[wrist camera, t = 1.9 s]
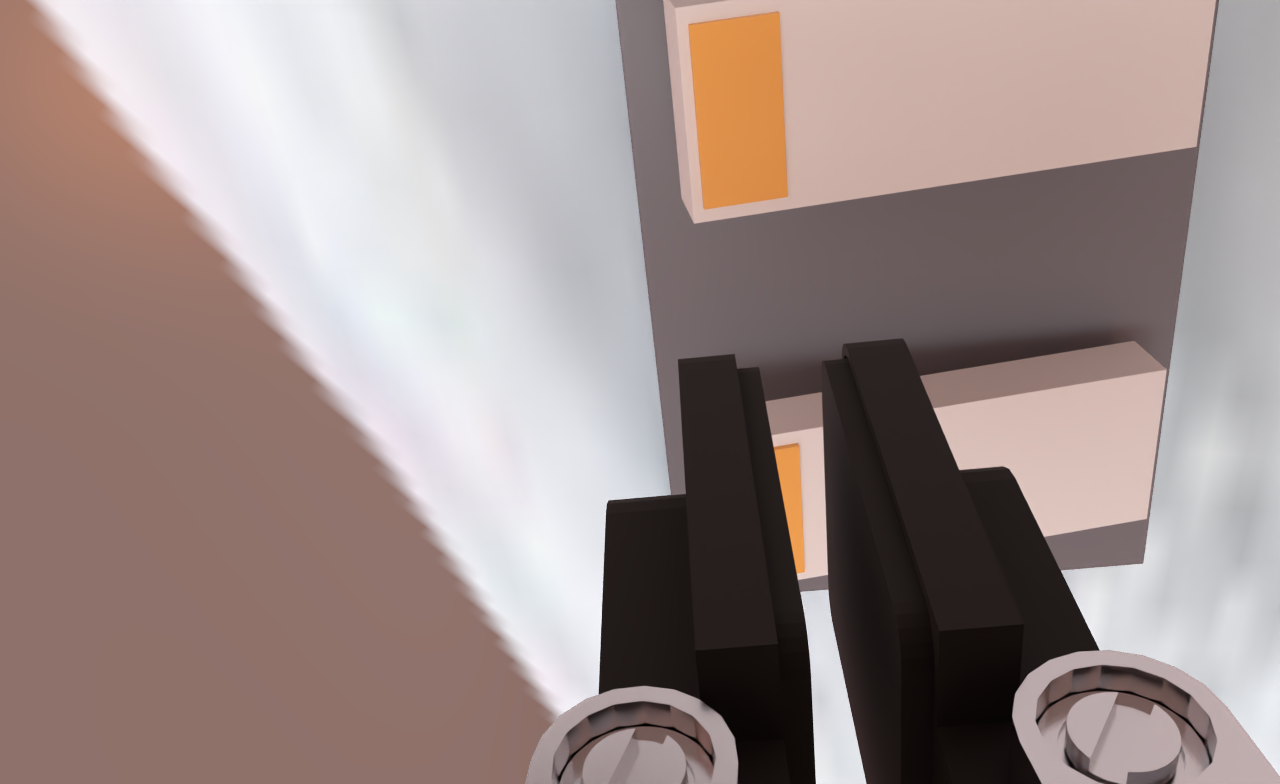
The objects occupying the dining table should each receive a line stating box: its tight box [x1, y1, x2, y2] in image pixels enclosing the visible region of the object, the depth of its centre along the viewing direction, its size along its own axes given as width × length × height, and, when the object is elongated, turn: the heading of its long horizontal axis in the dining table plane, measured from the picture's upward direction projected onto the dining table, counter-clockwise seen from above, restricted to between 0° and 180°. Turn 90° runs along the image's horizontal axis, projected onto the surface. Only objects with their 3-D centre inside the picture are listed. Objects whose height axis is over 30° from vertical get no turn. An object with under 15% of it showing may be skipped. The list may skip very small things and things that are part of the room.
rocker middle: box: [663, 0, 1216, 224], centre depth 22 cm, size 10×4×2 cm, turn 96°
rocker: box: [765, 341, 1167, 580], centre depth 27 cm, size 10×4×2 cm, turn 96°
